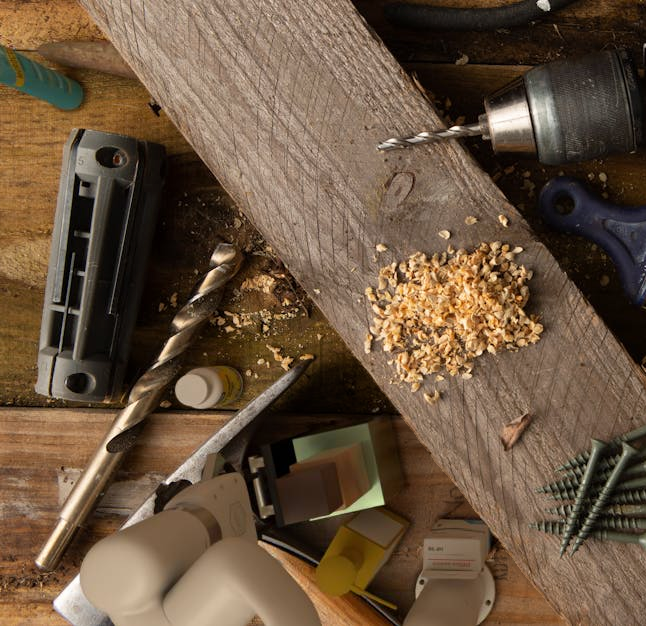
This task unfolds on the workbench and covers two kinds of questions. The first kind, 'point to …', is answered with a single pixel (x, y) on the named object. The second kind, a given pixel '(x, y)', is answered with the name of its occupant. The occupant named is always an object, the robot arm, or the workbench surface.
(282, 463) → the oven door
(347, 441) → the oven
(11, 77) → the tube
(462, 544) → the ink box
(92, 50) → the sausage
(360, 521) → the soap bottle
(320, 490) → the block
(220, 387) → the pill bottle
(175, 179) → the workbench surface
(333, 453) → the riser
